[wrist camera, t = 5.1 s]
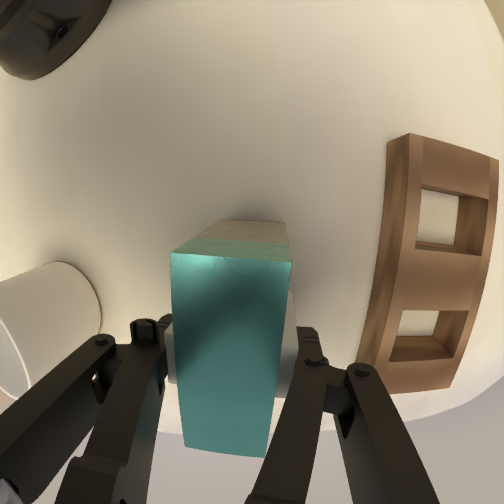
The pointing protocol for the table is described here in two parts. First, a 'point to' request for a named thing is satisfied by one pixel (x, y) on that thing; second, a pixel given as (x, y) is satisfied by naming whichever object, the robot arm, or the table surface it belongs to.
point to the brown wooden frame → (429, 263)
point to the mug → (43, 323)
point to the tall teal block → (229, 333)
